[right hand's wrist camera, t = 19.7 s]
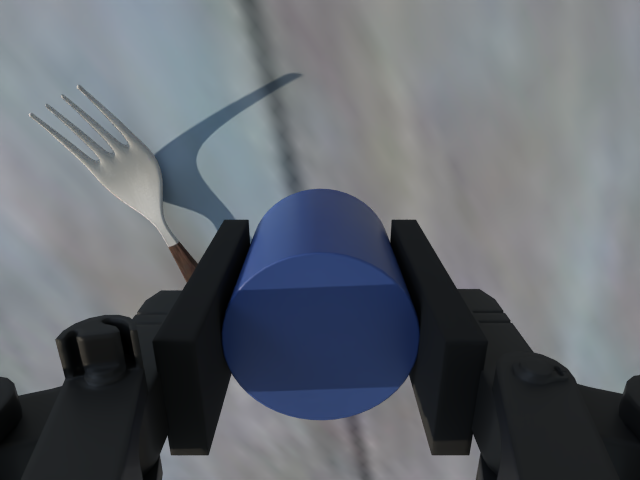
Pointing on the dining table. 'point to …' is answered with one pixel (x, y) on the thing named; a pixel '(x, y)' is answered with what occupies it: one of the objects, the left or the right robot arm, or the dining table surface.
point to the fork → (125, 173)
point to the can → (320, 310)
